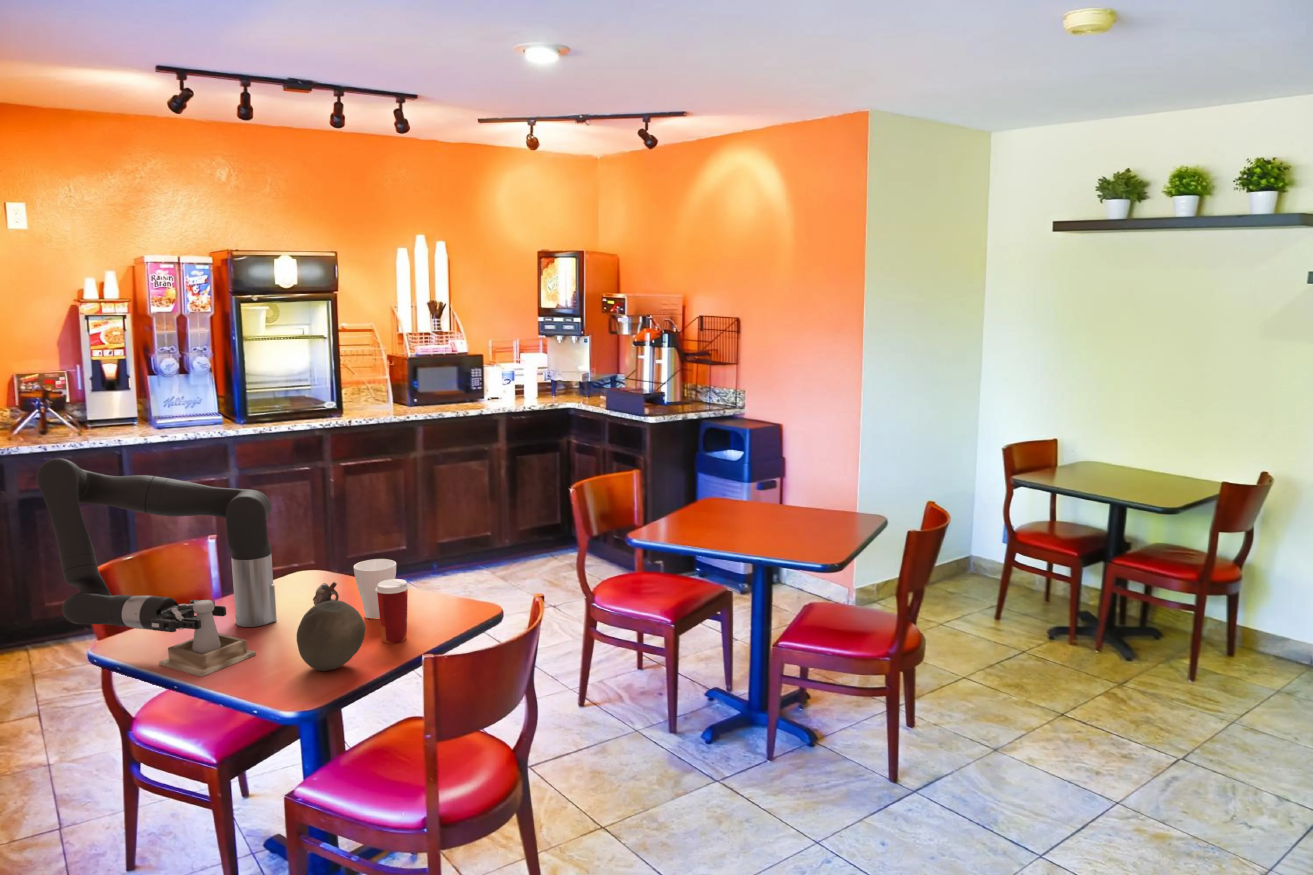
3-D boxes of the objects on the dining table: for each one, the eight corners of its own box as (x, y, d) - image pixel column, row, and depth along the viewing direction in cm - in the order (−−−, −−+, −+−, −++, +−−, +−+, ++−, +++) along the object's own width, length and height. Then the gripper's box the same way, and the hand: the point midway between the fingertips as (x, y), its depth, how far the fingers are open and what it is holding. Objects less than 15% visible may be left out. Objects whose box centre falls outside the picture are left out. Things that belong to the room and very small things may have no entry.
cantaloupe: (306, 686, 199) (302, 618, 197) (292, 663, 211) (288, 599, 209) (373, 671, 207) (370, 606, 204) (356, 651, 219) (353, 588, 216)
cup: (407, 613, 244) (405, 562, 242) (375, 625, 235) (372, 573, 233) (379, 606, 250) (377, 556, 248) (347, 617, 241) (344, 566, 239)
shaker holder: (215, 644, 223) (213, 628, 222) (255, 654, 216) (254, 639, 216) (160, 664, 211) (158, 648, 210) (201, 676, 204) (200, 660, 204)
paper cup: (417, 636, 228) (415, 580, 226) (396, 647, 221) (393, 589, 219) (392, 631, 231) (389, 576, 229) (370, 642, 224) (367, 585, 222)
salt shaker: (209, 662, 210) (205, 606, 208) (187, 660, 211) (182, 604, 209) (226, 652, 215) (222, 598, 213) (204, 650, 217) (200, 596, 215)
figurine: (311, 627, 234) (308, 580, 232) (341, 623, 237) (339, 577, 235) (313, 637, 228) (310, 589, 226) (344, 632, 230) (341, 585, 228)
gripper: (125, 606, 207) (190, 612, 204) (170, 587, 221) (232, 591, 218) (128, 639, 209) (192, 645, 205) (173, 617, 222) (234, 622, 219)
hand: (212, 617), depth 212 cm, fingers open, 8 cm apart
